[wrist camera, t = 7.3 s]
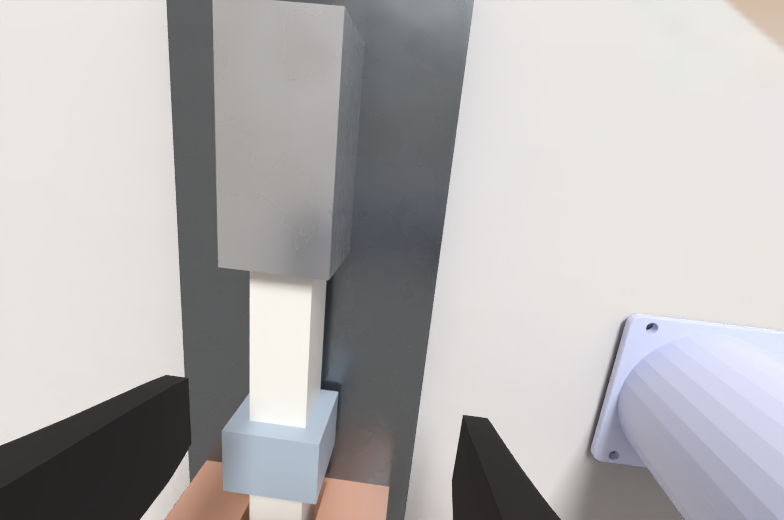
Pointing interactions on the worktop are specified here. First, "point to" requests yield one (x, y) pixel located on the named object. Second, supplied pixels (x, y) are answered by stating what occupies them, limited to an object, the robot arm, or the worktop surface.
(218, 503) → the socket block
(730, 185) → the worktop surface
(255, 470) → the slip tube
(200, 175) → the sleeve base
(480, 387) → the worktop surface
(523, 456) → the worktop surface
